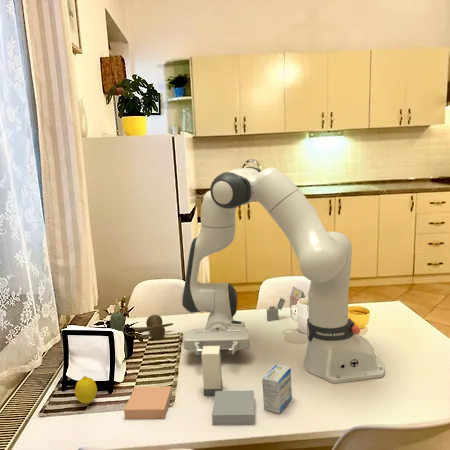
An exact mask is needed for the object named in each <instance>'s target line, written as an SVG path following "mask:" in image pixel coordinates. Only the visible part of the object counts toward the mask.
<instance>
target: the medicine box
mask: <svg viewBox="0 0 450 450" xmlns="http://www.w3.org/2000/svg"><path fill="white" fill-rule="evenodd" d="M261 382H262V396H263V397H262V399H263V400H262V401H263V409H264V410H266V411H268V412H272V413H275V414H278V415H279V414H281V413H282V411H283V410H284V409H285V408H286V406H287V404H288V403H289V401H290V400H291V399H292V398H293V393H292V392H293V390H292V388H293V387H292V367H289V366H286V365H283V364H277V363H276V364H275V365H274V366H273V367H272V368H271V369H270V370H269V371H268V372H267V373H266V374H265V376H264V377H263V378H262V379H261Z"/></svg>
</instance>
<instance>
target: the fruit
mask: <svg viewBox="0 0 450 450" xmlns="http://www.w3.org/2000/svg"><path fill="white" fill-rule="evenodd" d="M96 383H97V382H96V381H95V380H94V379H93V378H91V377H88V376H86V375H84V376H83V377H82V378H80V379H79V380H78V381H77V382H76V384H75V388H74V395H75V398H76V400H77V401H78V402H80V403H81V404H86V405H89V404H92V402H93V400H95V398H96V396H97V392H98V387H97V384H96Z"/></svg>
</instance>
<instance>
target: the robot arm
mask: <svg viewBox="0 0 450 450" xmlns="http://www.w3.org/2000/svg"><path fill="white" fill-rule="evenodd" d="M209 189H210V190H208V191H206V193H204V194H203V198H202V202H201V203H202V204H201V211H200V212H201V213H200V214H201V215H200V223H201V225H200V226H201V227H200V231H199V233H198V235H197V237H194V238H193V239H192V241H191V244H190V248H189V254H188V260H187V267H186V275H185V281H184V287H183V289H182V293H181V303H182V304H181V305H182V307H183V308H185V310H186V311H187V312H189V313H201V312H202V313H204V312H209V314H208V317H207V321H206V324H205V325H206V326H205V329H194V330H189V331H187V333H185V336H184V338H183V349H184V350H186V351H189V352H190V351H195V353H196V356H202V355H201V354H202V350H203V346H220V351H222V350H223V351H228V355H234V354H235V352H237V351H238V350H248V349H250V348H251V341H250V338H251V337H250V333H249V329H248V328H247V327H246V323H245V322H244V321H240V320H234V316H235V315H236V313H237V307H238V294H237V290H236V288H235V287H234V285H232V284H231V283H229V282H200V281H199V280H198V279H199V278H198V277H199V272H200V265H201V262H202V260H203V259H204V258H206V257H208V256H210V255H213V254H215V253H219V252H220V251H223V250H225V249H227V248H228V247H229V246H230V245H231V244H232V243H233V241H234V239H235V236H236V235H235V234H236V212H237V211H236V210H237V208H238V207H241V206H245V205H248V204H251V203H252V202H254V201H256V202H257V203H259V204H261V206H263V208H264V209H265V211H266V212H267V213H268V214H269V216H270V217H271V218H272V219H273V221H274V222H275V224H276V225H277V226H278V227H279V228H280V230H281V231H282V232H283V233H284V235H285V237H286V238H287V239H288V242H289V244H290V246H291V247H292V250H293V252H294V253H295V255H296V258H297V259H298V264H299V268H300V271H301V273H302V275H303V276H304V277H305V279H307V280H308V281H310V285H309V289H308V293H307V295H308V296H307V297H308V298H307V299H308V300H307V311H308V317H307V321H306V336H307V346H306V347H307V348H306V354H305V357H304V362H303V366H304V369H305V370H307V372H309V373H310V374H312V375H314V376H317V377H320V378H321V379H325V380H327V381H328V382H330V383H333V384H339V383H346V382H347V383H348V382H355V381H362V380H363V381H364V380H369V379H377V378H378V379H379V378H383V377H384V376H385V373H386V372H385V371H386V370H385V366H384V363H383V361H382V360H381V358H380V357H379V356H378V355H376V353H375V350H374V347H373V346H372V344H371V342H370V341H368V339H366V338H365V337H363V336H362V335H360V333H361V330H360V328H359V325H356V323H355V322H354V321H353V320H352V319H351V317H349V291H350V280H351V271H352V259H353V258H352V257H353V255H352V253H353V245H352V241H351V240H350V238H349V237H348V235H346V234H345V233H342V232H340V231H327V230H326V228H325V226H324V225H323V223H322V221H321V219H320V216H319V213H318V211H317V209H316V207H315V206H314V205H312V203H311V202H310V200H308V198H307V197H306V195H304V193H303V192H302V191H301V190H300V188H299V187H298V186H297V185H296V184H295V182H293V181H292V180H291V179H290V178H289V177H288V176H287V175H286V174H285V173H284V172H282V171H281V170H279V169H278V168H277V167H274V166H273V167H272V166H271V167H267V168H264V169H262V170H261V169H260V168H258V167H254V166H247V167H242V168H234V169H231V170H228V171H225V172H222V173H220V174H218V175H217V176H216V177H215V178H214V179H213V180H212V182H211V184H210V187H209Z"/></svg>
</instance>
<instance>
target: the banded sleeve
mask: <svg viewBox="0 0 450 450" xmlns="http://www.w3.org/2000/svg"><path fill="white" fill-rule="evenodd" d="M200 356H201V367H202V381H203V397H215V391H223V386H224V385H223V376H222V374H223V373H222V360H221V350H220V346H203V350H202V354H201V355H200Z"/></svg>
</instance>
